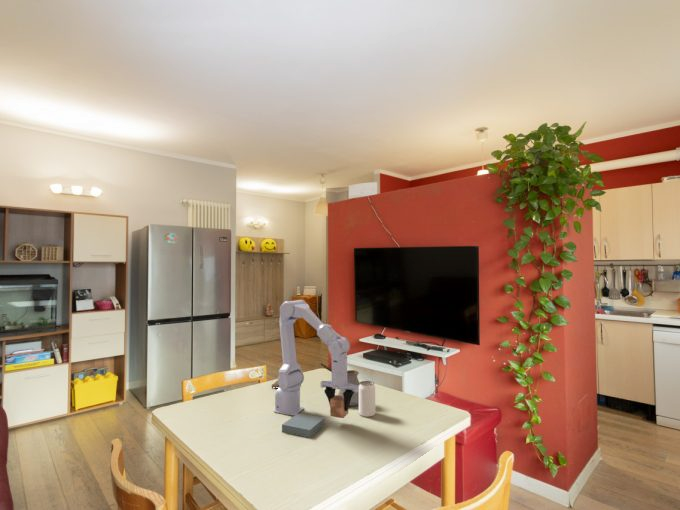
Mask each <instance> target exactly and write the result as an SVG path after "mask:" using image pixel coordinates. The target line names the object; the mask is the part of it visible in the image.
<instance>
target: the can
mask: <svg viewBox="0 0 680 510" xmlns="http://www.w3.org/2000/svg"><path fill="white" fill-rule="evenodd" d="M359 383H360V385H359V405H358V414H359V416H361V417H364V418H370V417H374V416H375V415H376V386H375V382H374V381H373V380H372V381H371V380H361V381H359Z"/></svg>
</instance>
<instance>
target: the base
mask: <svg viewBox="0 0 680 510" xmlns="http://www.w3.org/2000/svg"><path fill="white" fill-rule="evenodd" d="M324 426H325V417H321V416H317V415H311V414H304V413H300V412H299V413H297V414H296V415H292V417H291V418H289V419H288V420H286V421H285V422H283V423H282V424H281V433H285V434H286V433H287V434H291V435H295V436H301V437H304V438H311V437H313V436H314V435H315V434H316V433H317V432H319V430H321V429H322V428H323V427H324Z"/></svg>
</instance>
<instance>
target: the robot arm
mask: <svg viewBox="0 0 680 510" xmlns="http://www.w3.org/2000/svg"><path fill="white" fill-rule="evenodd" d="M298 319H304V321H305V322H307V323H308V324H309V325H310V326H312V328H313V329H314V330H316V336H317V337H318V338H319V339H320V340H322V342H323V343H324V344H325V345H326V346H327V347H328V348H327V349H328V352H329V354H330V359H331V369H332V372H331V380H322V381H320V388H325V389H324V395H325V396H326V398H327V400H328V404H329V405H330V399H331V398H333V397H334V396H335V395H336V390H340V389H341V390H346V391H345V392H344V393H343V395H344V410H345V411H348V412H349V408H350V406H349V404H350V400H351V398H352V395H353V393H354V392H358V391H359V385H354V384H350V383H347V371H348V352H349V351H350V349H351V343H350V341H349V339H348V338H347V336H346V337H345V336H341V334H340V333H337V331H335V330H334V329H333V326H332V325H331V324H328V323H323V321H321V319H320V318H319V317H317V315H316V313H314V312H313V310H312V309H311V308H310V305H309V303H307V302H306V301H305V300H304V299H297V300H286V301H284V302H283V303H282V304H281V305H280V306H279V319H278V321H279V323H278V324H279V334H280V343H281V344H280V345H281V355H282V356H281V357H282V365H281V366H280V368H279V370H278V378H277V381H278V385H279V388H278V389H276V391H275V396H274V398H275V399H274V400H275V401H274V406H275V408H274V410H273V411H274V413H276V414H282V415H287V416H289V415H290V416H295V415H296V414H298V413H300V412H302V411H303V410H304V409H305V407H302V406H301V388H302V384H303V382H304V380H305V375H304V373H303V371H302V365H301V364H299V363H298V361H297V350H296V341H295V340H296V339H295V330H294V324H295V322H296V321H297V320H298Z"/></svg>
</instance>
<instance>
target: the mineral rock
mask: <svg viewBox="0 0 680 510" xmlns="http://www.w3.org/2000/svg"><path fill="white" fill-rule="evenodd" d="M271 387H275V388H276V387H279V385H278V380H276V381H275V382H274V383H273V384H271Z"/></svg>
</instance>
